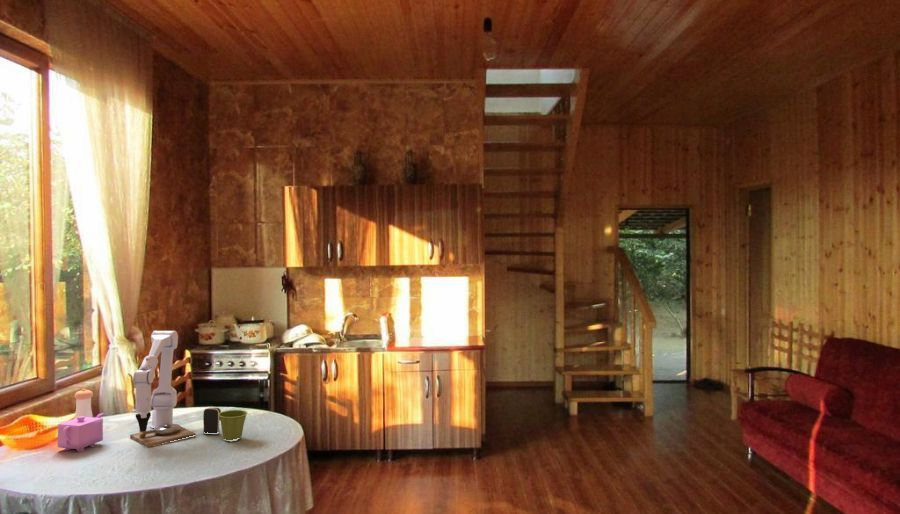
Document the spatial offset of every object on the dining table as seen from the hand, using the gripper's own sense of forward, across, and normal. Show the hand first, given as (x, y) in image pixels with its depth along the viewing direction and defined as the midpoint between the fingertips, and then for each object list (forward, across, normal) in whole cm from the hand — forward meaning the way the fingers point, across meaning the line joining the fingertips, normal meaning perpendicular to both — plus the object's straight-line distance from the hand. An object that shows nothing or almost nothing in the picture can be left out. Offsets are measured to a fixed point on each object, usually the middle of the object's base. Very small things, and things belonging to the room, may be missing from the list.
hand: (143, 431), depth 247 cm
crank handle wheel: (+3, -5, +6) cm, 9 cm away
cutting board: (+5, -4, +8) cm, 10 cm away
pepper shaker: (+5, -28, -22) cm, 36 cm away
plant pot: (+5, +12, +34) cm, 36 cm away
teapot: (+5, -6, -21) cm, 23 cm away
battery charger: (+5, 0, +27) cm, 28 cm away
